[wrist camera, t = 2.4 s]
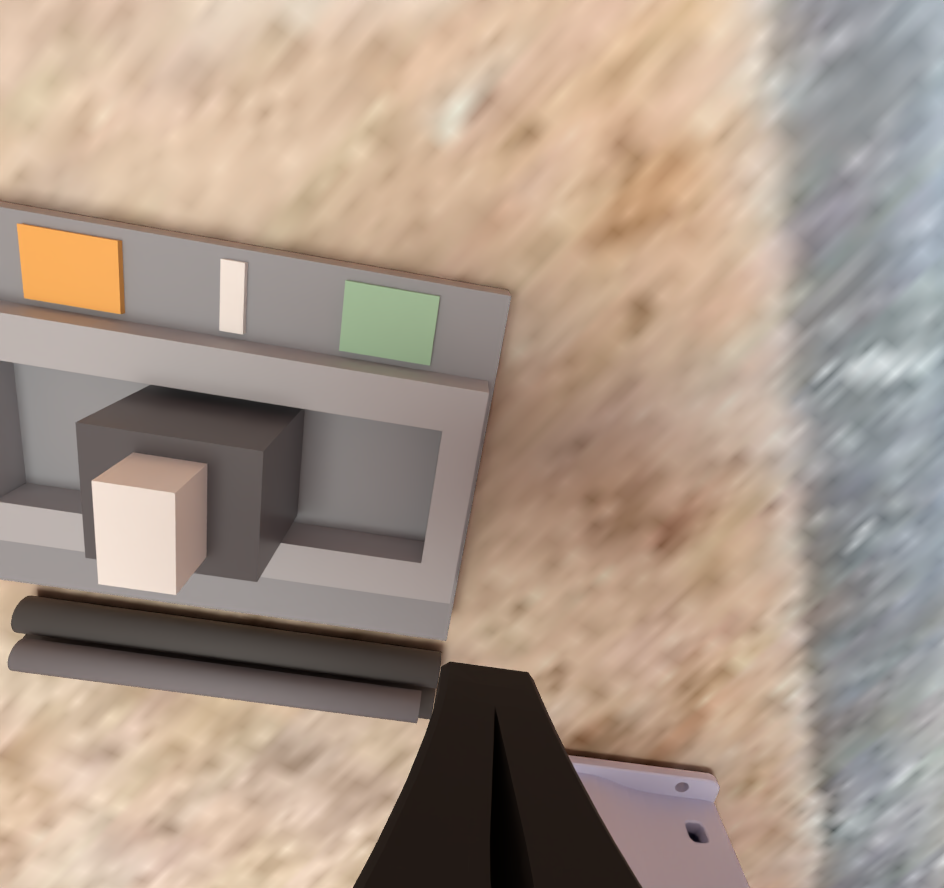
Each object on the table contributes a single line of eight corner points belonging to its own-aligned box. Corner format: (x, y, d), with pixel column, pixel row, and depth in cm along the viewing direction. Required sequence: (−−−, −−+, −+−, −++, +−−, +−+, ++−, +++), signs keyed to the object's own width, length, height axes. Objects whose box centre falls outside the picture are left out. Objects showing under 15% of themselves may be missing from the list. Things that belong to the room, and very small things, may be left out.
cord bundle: (441, 644, 21) (438, 689, 19) (431, 700, 22) (427, 750, 20) (35, 588, 20) (-14, 629, 18) (42, 649, 21) (-4, 695, 19)
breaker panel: (507, 290, 16) (514, 302, 14) (448, 612, 20) (444, 667, 18) (-8, 199, 16) (-101, 194, 13) (31, 553, 19) (-35, 602, 17)
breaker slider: (304, 405, 16) (237, 479, 11) (297, 515, 17) (232, 622, 13) (155, 381, 16) (25, 447, 11) (158, 494, 17) (41, 596, 12)
